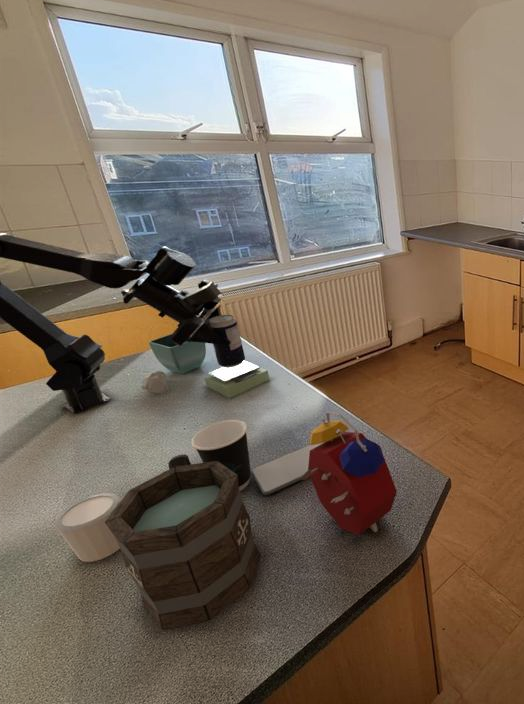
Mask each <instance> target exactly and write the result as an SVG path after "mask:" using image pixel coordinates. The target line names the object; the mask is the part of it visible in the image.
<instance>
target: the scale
mask: <svg viewBox="0 0 524 704" xmlns="http://www.w3.org/2000/svg"><path fill="white" fill-rule="evenodd" d="M259 367H260V369H258V370H256V371H254V372H251V373H249V374H247V375H244V376H242V377H240V378H237V379H235V380H233V381H230V382H228V383H224V382H222V381H220V380H218V379H216V378H214V377H211V376H209V375H205V376H203V378H204V381H205V385H206V387H207V388H209V389H211V390H212V391H214V392H217V393H219V394H220V395H223V396H224V397H227V398H229V399H230V398H233V397H235V396H237V395H239V394H242V393H244V392H246V391H248V390H251V389H253V388H254V387H257V386H259V385H261V384H264V383H266V382H268V381H270V375H269V372H268V370H267V369H265V368H263V367H261V366H259Z"/></svg>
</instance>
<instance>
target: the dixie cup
mask: <svg viewBox="0 0 524 704" xmlns="http://www.w3.org/2000/svg"><path fill="white" fill-rule="evenodd" d="M247 431H248V425H247V423H246V422H245V421H242V420H239V419H227V420H222V421H217V422H214V423H212V424H210V425H207V426H205V427H204V428H202V429H200V430H198V431H197V432H196V433H195V434H194V435H193V437H192V438H191V446H192V447H193V448H194V449H195V450H196V452H197V454H198V455H199V458H200V460H201V461H202V463H205V462H213V461H218V462H220V463H221V464H223V465H224V466H226V467H227V468H228V469H230V470H231V471H233V472H234V473H236V474H237V475H238V483H239V491H240V492H241V491H242V490H244V489H246V488H247V486H249V484H250V483H251V482H250V481H251V476H252V474H251V463H250V453H249V445H248V436H247Z"/></svg>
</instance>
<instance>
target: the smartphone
mask: <svg viewBox="0 0 524 704" xmlns="http://www.w3.org/2000/svg"><path fill="white" fill-rule="evenodd" d="M321 444H323V443H321ZM321 444H316V445H310V444H308V445H305V446H302V447H300V448H298V449H295V450H293V451H291V452H289V453H286V454H283V455H281V456H278V457H277V458H274V459H272V460H270V461H267V462H265V463H262V464H260V465H258V466H255V467H253V468H252V469H250V471H251V476H252V477H253V479H254V481H255V482H256V484H257V486H258V488H259V490H260V491H261V493H262V495H264V496H269V495H271V494H272V495H273V494H274V493H275V492H278V491H280V490H283V489H284V488H287V487H289V486H291V485H293V484H295V483H298V482H300V481H303V480H302V479H303V478H304V477H305V476H303V475H304V474H305V473H306V472H307V471H308V464H309V454H310V450H312V449H314V448H315V447H317V446H319V445H321Z"/></svg>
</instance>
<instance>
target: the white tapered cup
mask: <svg viewBox="0 0 524 704" xmlns="http://www.w3.org/2000/svg"><path fill="white" fill-rule="evenodd" d="M120 502H121V500H120V497H119V495H117V494H115V493H113V492H111V493H110V492H103V493H99V494H93V495H90V496H88V497H86V498H83V499H81V500H80V499H79V501H77V502H75V503H73V504H72V505H70V506H68V507H67V508H66V509H64V510H63V511H62V512H61V513H60V514H59V515H58V516H57V518H56V520H55V521H54V527H55V529H56V530H57V531H58V533H59V534H60V535H61V537H62V538H63V539H64V541H65V542H66V543H67V545H68V546H69V547H70V548H71V550H72V551H73V553H74V554H75V555H76V557H77V558H78V559H79V560H80V561H82V562H84V563H92V562H97V561H100V560H103V559H106V558H107V557H109V556H112V555H114V554H115V553H116V552H117V551H119V550H121V549H120V547H119V544H118V542H117V540H116V538H115V536H114V535H113V533H112V532H111V530H110V529H109V528H108V526H107V525H106V524H105V521H106V520H107V518H108V517H109V516H110V515H111V513H112V512H113V511H114V509H115V508H116V507H117V505H118V504H119V503H120Z"/></svg>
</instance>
